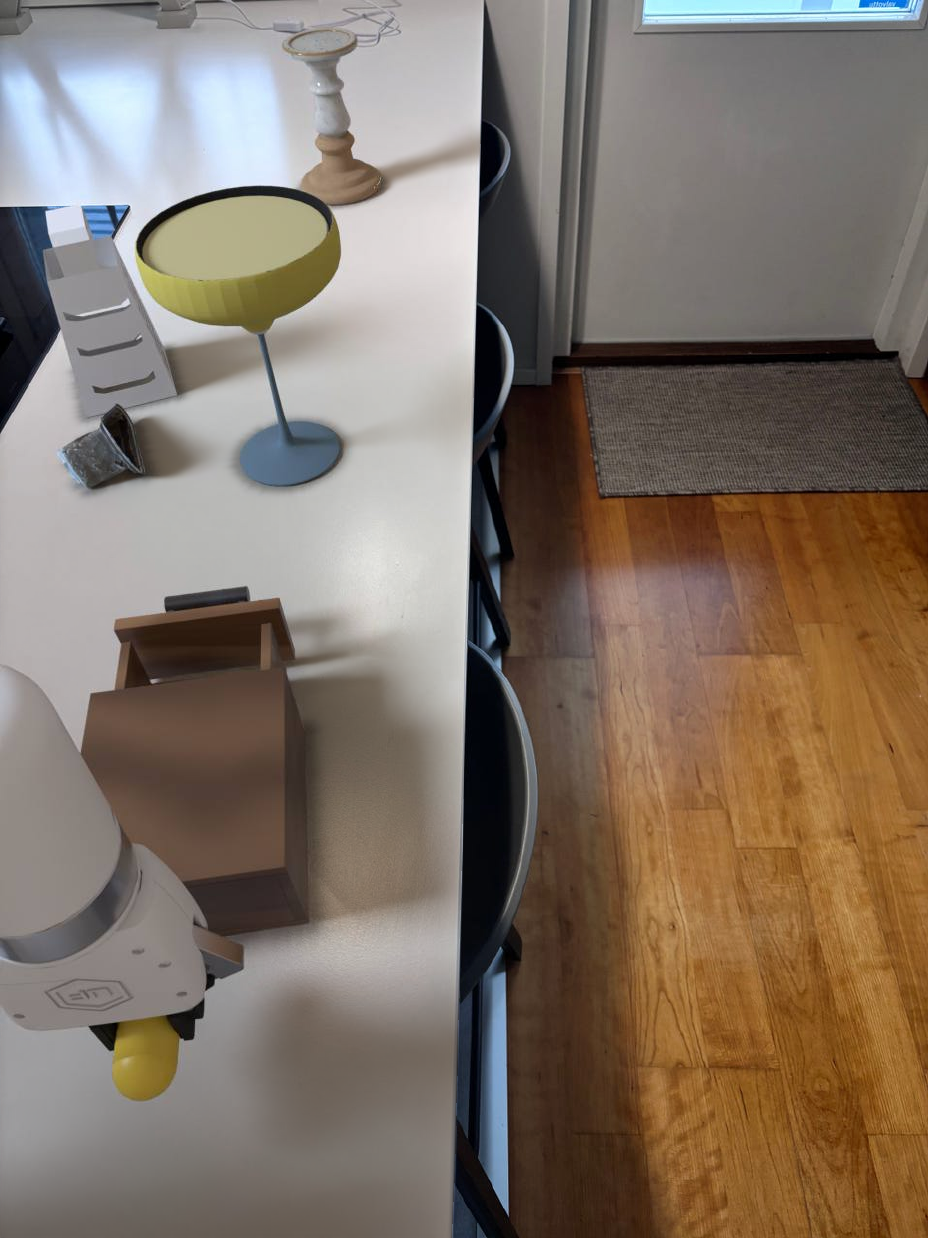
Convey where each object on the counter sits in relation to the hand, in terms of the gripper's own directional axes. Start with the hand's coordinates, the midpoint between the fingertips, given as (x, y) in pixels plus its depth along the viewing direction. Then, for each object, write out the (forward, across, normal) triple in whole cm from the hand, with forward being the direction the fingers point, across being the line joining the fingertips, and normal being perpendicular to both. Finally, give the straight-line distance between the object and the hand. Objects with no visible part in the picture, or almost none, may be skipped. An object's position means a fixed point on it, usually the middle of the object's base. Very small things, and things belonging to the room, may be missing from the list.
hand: (154, 1019), depth 58 cm
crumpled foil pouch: (+5, -13, +64) cm, 66 cm away
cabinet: (+5, +2, +16) cm, 17 cm away
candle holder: (+4, +16, +124) cm, 126 cm away
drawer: (+4, +1, +26) cm, 27 cm away
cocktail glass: (+5, +8, +61) cm, 61 cm away
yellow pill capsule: (+1, -1, 0) cm, 1 cm away
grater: (+5, -12, +78) cm, 80 cm away
